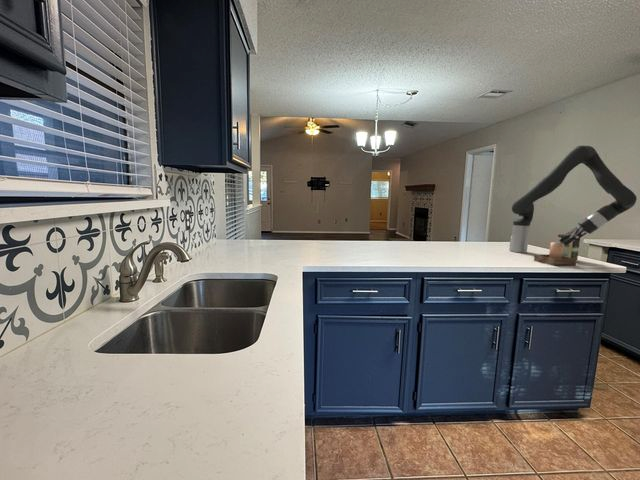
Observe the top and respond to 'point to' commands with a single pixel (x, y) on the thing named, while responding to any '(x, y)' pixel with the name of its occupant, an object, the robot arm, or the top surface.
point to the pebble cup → (556, 250)
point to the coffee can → (570, 248)
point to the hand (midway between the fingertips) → (562, 242)
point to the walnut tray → (555, 260)
